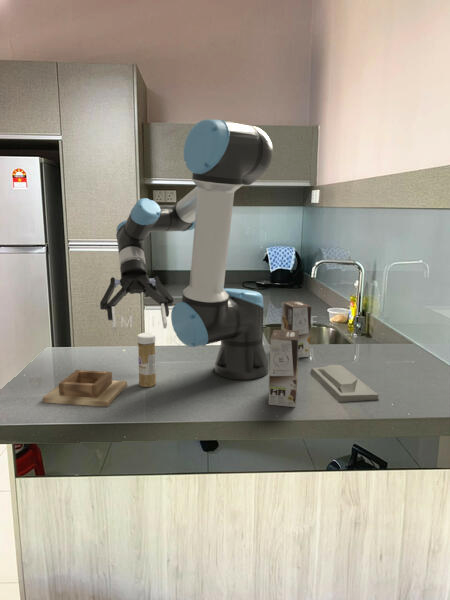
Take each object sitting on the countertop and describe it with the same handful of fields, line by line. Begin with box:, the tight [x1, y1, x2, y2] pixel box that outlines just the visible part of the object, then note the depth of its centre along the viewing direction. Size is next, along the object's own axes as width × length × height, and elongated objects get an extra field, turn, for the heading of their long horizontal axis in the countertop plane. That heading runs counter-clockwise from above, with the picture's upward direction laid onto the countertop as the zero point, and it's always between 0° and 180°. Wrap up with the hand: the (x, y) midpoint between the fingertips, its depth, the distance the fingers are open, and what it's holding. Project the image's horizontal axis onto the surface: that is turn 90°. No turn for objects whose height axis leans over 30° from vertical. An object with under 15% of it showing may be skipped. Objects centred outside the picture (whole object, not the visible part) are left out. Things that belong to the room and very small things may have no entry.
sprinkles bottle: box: [136, 332, 157, 388], centre depth 118 cm, size 5×5×13 cm
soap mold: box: [309, 364, 379, 403], centre depth 119 cm, size 10×20×4 cm, turn 9°
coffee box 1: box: [280, 300, 312, 359], centre depth 144 cm, size 9×6×16 cm
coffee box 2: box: [268, 329, 299, 408], centre depth 109 cm, size 9×6×16 cm
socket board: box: [42, 369, 128, 407], centre depth 113 cm, size 16×13×4 cm
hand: (140, 327), depth 125 cm, fingers open, 13 cm apart
